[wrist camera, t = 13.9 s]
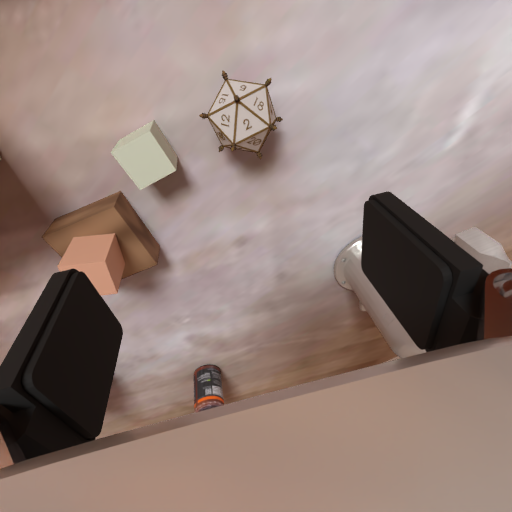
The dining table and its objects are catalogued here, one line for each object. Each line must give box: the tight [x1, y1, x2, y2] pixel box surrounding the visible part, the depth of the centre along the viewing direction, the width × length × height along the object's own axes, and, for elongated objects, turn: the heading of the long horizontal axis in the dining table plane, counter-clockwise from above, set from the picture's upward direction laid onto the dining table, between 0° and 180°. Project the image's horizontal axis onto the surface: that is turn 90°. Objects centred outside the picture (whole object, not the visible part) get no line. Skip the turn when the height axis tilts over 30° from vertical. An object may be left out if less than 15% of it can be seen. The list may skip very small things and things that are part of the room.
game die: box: [199, 71, 283, 159], centre depth 34 cm, size 9×8×10 cm
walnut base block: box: [42, 191, 160, 279], centre depth 42 cm, size 10×10×5 cm
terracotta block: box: [57, 233, 125, 295], centre depth 38 cm, size 5×5×6 cm
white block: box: [455, 227, 512, 274], centre depth 54 cm, size 4×7×10 cm, turn 22°
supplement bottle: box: [194, 365, 224, 413], centre depth 63 cm, size 6×6×11 cm
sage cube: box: [111, 120, 178, 190], centre depth 36 cm, size 5×5×5 cm
